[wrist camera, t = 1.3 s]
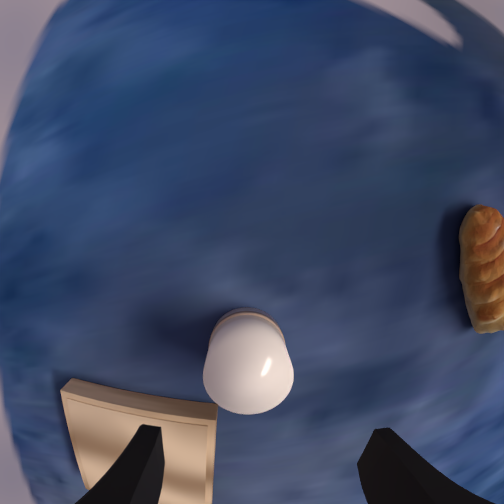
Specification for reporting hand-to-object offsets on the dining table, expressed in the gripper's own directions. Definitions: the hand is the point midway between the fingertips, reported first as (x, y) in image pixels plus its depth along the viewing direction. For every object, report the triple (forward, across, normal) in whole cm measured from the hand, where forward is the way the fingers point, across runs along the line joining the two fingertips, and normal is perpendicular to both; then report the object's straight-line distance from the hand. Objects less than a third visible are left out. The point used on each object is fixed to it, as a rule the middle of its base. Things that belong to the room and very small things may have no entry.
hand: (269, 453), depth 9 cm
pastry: (+11, -18, -4) cm, 21 cm away
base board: (+9, +7, +12) cm, 17 cm away
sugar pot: (+11, 0, +2) cm, 11 cm away
